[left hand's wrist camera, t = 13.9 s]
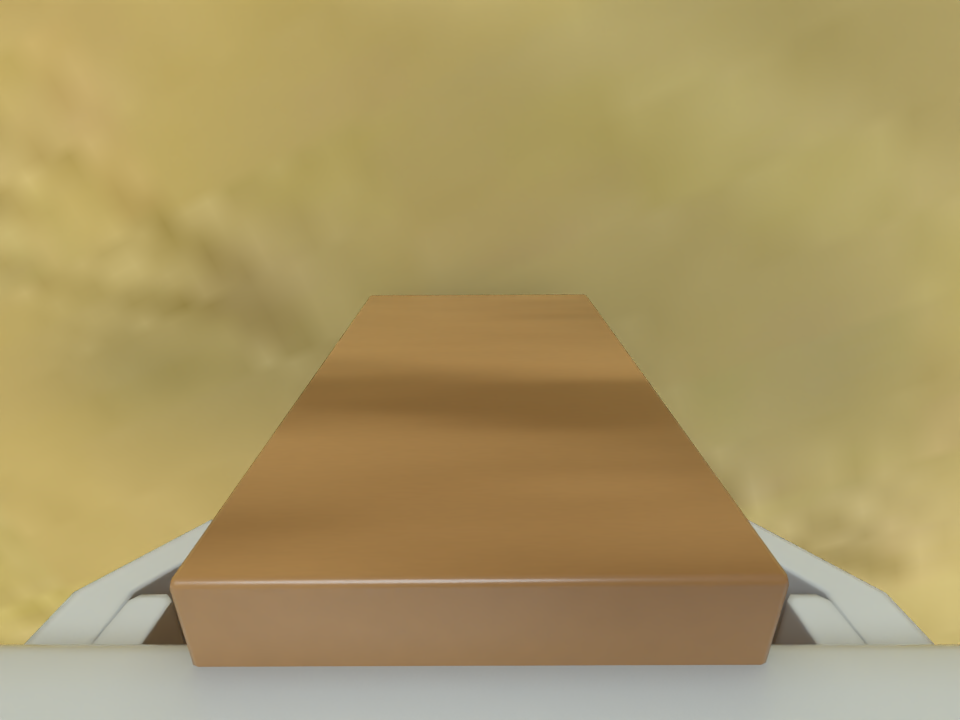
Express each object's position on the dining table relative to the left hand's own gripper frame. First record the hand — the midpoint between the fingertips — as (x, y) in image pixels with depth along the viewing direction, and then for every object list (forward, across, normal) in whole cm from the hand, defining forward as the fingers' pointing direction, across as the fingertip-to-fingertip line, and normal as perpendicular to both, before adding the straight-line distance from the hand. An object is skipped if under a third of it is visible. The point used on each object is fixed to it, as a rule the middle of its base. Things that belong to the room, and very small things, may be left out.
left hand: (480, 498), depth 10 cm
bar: (+5, 0, -9) cm, 10 cm away
